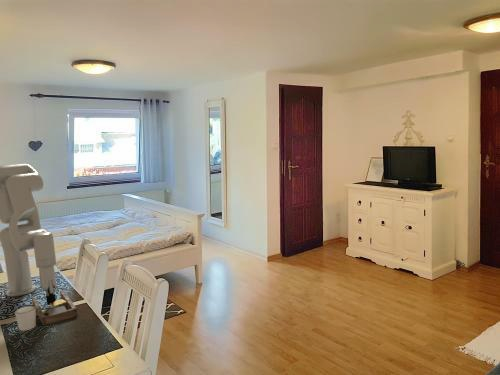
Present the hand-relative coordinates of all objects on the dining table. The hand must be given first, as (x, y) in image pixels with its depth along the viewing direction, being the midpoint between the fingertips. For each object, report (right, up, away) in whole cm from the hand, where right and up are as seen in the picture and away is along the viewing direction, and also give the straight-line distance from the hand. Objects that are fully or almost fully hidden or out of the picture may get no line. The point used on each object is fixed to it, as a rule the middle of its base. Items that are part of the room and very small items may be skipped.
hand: (51, 303), depth 171 cm
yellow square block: (+4, -2, -2) cm, 5 cm away
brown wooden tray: (+3, -2, -4) cm, 5 cm away
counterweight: (+8, -3, -10) cm, 13 cm away
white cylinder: (0, -4, -18) cm, 18 cm away
